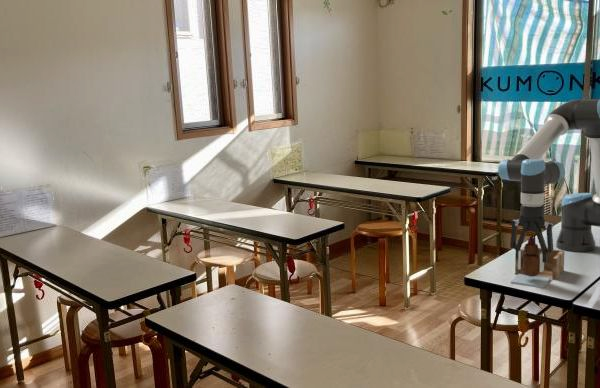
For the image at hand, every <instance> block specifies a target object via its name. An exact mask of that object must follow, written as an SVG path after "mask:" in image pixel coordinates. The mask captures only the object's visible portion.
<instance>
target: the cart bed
mask: <svg viewBox="0 0 600 388" xmlns="http://www.w3.org/2000/svg"><path fill="white" fill-rule="evenodd" d="M524 247H525V246H523V247H521V249H523V256H524V255H525V254H526V253H525V251H524ZM541 252H542V250H541V247H538V253H537V255H538V256H539V258H540V253H541ZM514 260H515V261H514V262H515V263H514V267H515V269H514V270H515V271H514V275H515V276H517V275H518V274H524V272H523V268H521V269H518V259H516V253H515V258H514ZM564 271H565V250H563V249H553V251H552V252H549V253H547V262H546V263H545V262H544V271H543V272H540V270H539V273H538V275H536V276H539V277H546V278H551V279H550V280H552V281H557V279H558V278H559V277H560V275H562V273H564ZM524 275H525V274H524Z"/></svg>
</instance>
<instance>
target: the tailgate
mask: <svg viewBox="0 0 600 388" xmlns="http://www.w3.org/2000/svg"><path fill="white" fill-rule="evenodd" d="M551 280H552V279H551V278H546V277H539V276H527V275H524V274H518V275H515V277H514V278H513V279H512V280H511V281H510V284H515V285H519V286H520V285H521V286H528V287H534V288H541V289H544V288H545V287H546V285H547V284H548V283H549V282H550V281H551Z"/></svg>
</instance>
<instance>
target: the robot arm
mask: <svg viewBox="0 0 600 388" xmlns="http://www.w3.org/2000/svg"><path fill="white" fill-rule="evenodd" d="M571 130H572V131H574V130H577V131H579V130H580V131H583V134H584V138H586V139H588V140H589V147H590V156H591V164H592V171H593V180H594V188H595V194H594V195H593V193H591V192H578V193H577V192H576V193H569V194H565V195H564V196H563V197H562V198H561V199H562V200H561V216H560V217H561V221H560V223H561V224H560V226H561V227H560V231H559V234H558V236H557V238H556V241H555V246H556V247H557V248H558V249H559V250H562V251H567V252H568V251H569V252H578V253H579V252H591V251H595V250H596V241H595V238H594V235H593V231H592V227H598V228H600V98H593V99H591V98H588V99H579V98H577V99H571V100H569V101H567V102H564V103H562V104H561V105H559V106H557V107H556V108H555V109H553V110H552V111H551V112H550V113H549V114H547V116H546V117H545V119H544V121H543V124H542V125H541V127H540V128H539V129H538V130H537V131H536V132H535V133H534V135H532V136H531V138H530V139H528V141H527V142H526V143H525V144H524V145H523V146H522V147H521V148H520V150H519V151H518V152H517V153H516V154H515V155H514V156H513V157H512V158H511V159H509V158H508V159H502V160H500V162H499V164H498V167H497V173H498V176H499V178H500V179H502V180H507V181H511V182H512V181H513V182H520V204H521V205H520V211H519V212H520V215H519V218H518V219H512V220H511V221H510V224H511V235H510V242H509V243H510V244H509V247H510V249H513V250H514V251H515V254H516V259H518V269H521V268H522V258H523V249H522V246H523V244H524V240H525V238H526V235H527V233H528V232H533V233H535V236H536V238H537V240H538V243H539V248H541V250H542V252H541V253H540V272H543V271H544V262H545V263H546V262H547V253H549V252H552V251H553V250H554V239H553V237H554V236H553V227H554V223H553V222H548V221H546V220H545V206H544V204H545V189H546V188H545V186H546V185H550V184H556V183H558V182H560V181H562V180H563V179H564V177H565V176H566V175H565V173H566V172H565V170H566V169H565V167H564V165H563V164H562V163H561V162H559V161H557V160H556V161H555V160H554V161H551V160H550V161H545V160H544V159H542V157H543V156H544V154H545V153H546V152H547V151H548V150H549V149H550V148H551V146H553V144H554V143H555V142H556V141H557V140H558V139H559V138H560V136H563V135H565V134H566V133H567V132H569V131H571ZM519 224H520V225H519ZM518 226H521V227H522V230H521V234H520V235H519V238H518V241H517V235H518ZM544 226H545V229H546V241H545V238H544V235H543V232H542V231H543V230H542V228H543V227H544ZM546 243H547V244H546Z"/></svg>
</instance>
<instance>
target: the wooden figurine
mask: <svg viewBox="0 0 600 388" xmlns="http://www.w3.org/2000/svg"><path fill="white" fill-rule="evenodd" d="M527 240H528V241H527V243H525V245H524V246H523V247H524V251H525V253H526V254H525V255H524V256H523V258H522V268H523V272H524V274H525V275H527V276H536V275H538V273H539V270H540V258H539V256H538V255H537V253H538V248H539V245H538V244H537V243H536V233H535V234H531V236H530V237H529V238H528V239H527Z"/></svg>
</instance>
